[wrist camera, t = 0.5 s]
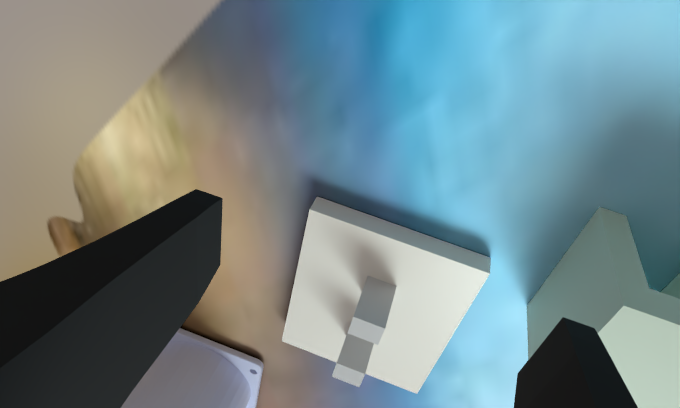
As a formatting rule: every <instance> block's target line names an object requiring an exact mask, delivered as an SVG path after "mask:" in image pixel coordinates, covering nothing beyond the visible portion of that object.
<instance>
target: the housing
mask: <svg viewBox="0 0 680 408" xmlns="http://www.w3.org/2000/svg"><path fill="white" fill-rule="evenodd" d="M562 317H564V318H567V319H570V320H573V321H576V322H579V323H581V324H584V325H587V326H590V327H593V328H595V330H596V331H597V333H598V335H599V337H600V338H601V340H602V342H603V344H604V346H605V348H606V349H607V351H608V353H609V355H610V357H611V359H612V360H613V362H614V364H615V366H616V368H617V370H618V372H619V374H620V375H621V377H622V379H623V381H624V383H625V385H626V386H627V388H628V390H629V392H630V394H631V396H632V397H633V399H634V401H635V403H636V405H637V407H638V408H680V273H679V274H678V275H677V276H676V277H675V278H674V279H673V280H672V281H671V282H670V283H669V284H668V285H667V286H666V287H665V288H664V289H663V290H662V291H661V292H659V291H656V290H653V289H650V288H649V286H648V283H647V280H646V276H645V273H644V270H643V267H642V264H641V261H640V258H639V254H638V251H637V248H636V245H635V242H634V239H633V236H632V232H631V229H630V226H629V223H628V220H627V217H626V215H623V214H620V213H617V212H614V211H611V210H608V209H605V208H602V207H599V208H598V209H597V210H596V212H595V213H594V215H593V216H592V217H591V219H590V220H589V221H588V223H587V224H586V226H585V227H584V228H583V230H582V231H581V232H580V234H579V235H578V237H577V238H576V239H575V241H574V242H573V243H572V245H571V246H570V247H569V249H568V250H567V252H566V253H565V254H564V256H563V257H562V258H561V260H560V261H559V263H558V264H557V265H556V267H555V268H554V269H553V271H552V272H551V274H550V275H549V276H548V278H547V279H546V280H545V282H544V283H543V284H542V286H541V287H540V289H539V290H538V291H537V293H536V294H535V295H534V297H533V298H532V300H531V301H530V302H529V304H528V305H527V330H528V360H529V359H530V358H531V356H532V355H533V354H534V353H535V351H536V350H537V349H538V348H539V346H540V345H541V344H542V343H543V341H544V340H545V339H546V338H547V336H548V335H549V334H550V333H551V331H552V330H553V329H554V328H555V326H556V325H557V324H558V322H559V321H560V320H561V319H562Z"/></svg>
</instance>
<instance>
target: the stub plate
mask: <svg viewBox="0 0 680 408" xmlns="http://www.w3.org/2000/svg"><path fill="white" fill-rule="evenodd" d="M490 262H491V258H490V257H487V256H484V255H482V254H479V253H476V252H473V251H470V250H467V249H465V248H462V247H459V246H456V245H453V244H450V243H448V242H445V241H442V240H439V239H436V238H434V237H431V236H428V235H425V234H422V233H419V232H417V231H414V230H411V229H408V228H405V227H402V226H400V225H397V224H394V223H391V222H388V221H385V220H383V219H380V218H377V217H374V216H371V215H368V214H366V213H363V212H360V211H357V210H354V209H351V208H349V207H346V206H343V205H340V204H337V203H334V202H332V201H329V200H326V199H323V198H320V197H316V199H315V201H314V202H313V204H312V206H311V208H310V209H309V214H308V219H307V224H306V229H305V233H304V238H303V243H302V248H301V252H300V257H299V262H298V267H297V271H296V276H295V281H294V286H293V290H292V295H291V300H290V305H289V309H288V314H287V319H286V324H285V329H284V333H283V338H282V341H283V342H286V343H288V344H291V345H293V346H296V347H298V348H301V349H303V350H306V351H309V352H311V353H314V354H316V355H319V356H321V357H324V358H327V359H329V360H332V361H334V362H337V363H336V366H335V369H334V372H333V375H332V377H335V378H337V379H340V380H342V381H345V382H347V383H350V384H352V385H355V386H357V387H360V385H361V382H362V380H363V378H364V375H365V374H368V375H370V376H373V377H375V378H378V379H380V380H383V381H385V382H388V383H391V384H393V385H396V386H398V387H401V388H403V389H406V390H409V391H411V392H414V393H416V394H417V393H418V391H419V390H420V388H421V386H422V385H423V383H424V381H425V380H426V378H427V376H428V375H429V373H430V372H431V370H432V368H433V367H434V365H435V363H436V362H437V360H438V358H439V357H440V355H441V353H442V352H443V350H444V348H445V347H446V345H447V344H448V342H449V340H450V339H451V337H452V335H453V334H454V332H455V330H456V329H457V327H458V325H459V324H460V322H461V320H462V319H463V317H464V315H465V314H466V312H467V311H468V309H469V307H470V306H471V304H472V302H473V301H474V299H475V297H476V296H477V294H478V292H479V291H480V289H481V287H482V286H483V284H484V282H485V281H486V279H487V278H488V276H489V274H490Z"/></svg>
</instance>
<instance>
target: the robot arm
mask: <svg viewBox="0 0 680 408" xmlns="http://www.w3.org/2000/svg"><path fill="white" fill-rule="evenodd" d="M221 226H222V198H220V197H217V196H215V195H212V194H209V193H206V192H203V191H200V190H197V189H196V190H194V191H192V192H190V193H188V194H186V195H184V196H182V197H180V198H178V199H176V200H174V201H172V202H170V203H168V204H166V205H165V206H163V207H161V208H159V209H157V210H155V211H153V212H151V213H149V214H148V215H146V216H144V217H142V218H140V219H138V220H136V221H134V222H132V223H130V224H128V225H126V226H124V227H122V228H120V229H118V230H116V231H114V232H112V233H110V234H108V235H106V236H104V237H102V238H100V239H98V240H96V241H94V242H92V243H90V244H88V245H86V246H84V247H81V248H79V249H77V250H75V251H73V252H70V253H68V254H66V255H64V256H62V257H59V258H57V259H55V260H53V261H51V262H49V263H46V264H44V265H42V266H39V267H37V268H35V269H32V270H30V271H27V272H25V273H22V274H20V275H17V276H15V277H12V278H9V279H7V280H4V281H1V282H0V408H256V406H257V400H258V394H259V389H260V383H261V377H262V372H263V363H262V361H260V360H259V359H257V358H254V357H252V356H249V355H247V354H244V353H242V352H239V351H237V350H234V349H232V348H229V347H227V346H224V345H222V344H219V343H216V342H214V341H211V340H209V339H206V338H204V337H201V336H199V335H196V334H194V333H191V332H189V331H186V330H184V329H181V328H180V327H181V326H182V324H183V323H184V322H185V320H186V319H187V318H188V316H189V315H190V314H191V312H192V311H193V309H194V308H195V307H196V305H197V304H198V302H199V301H200V299H201V297H202V296H203V294H204V292H205V291H206V289H207V287H208V285H209V284H210V282H211V280H212V278H213V276H214V275H215V273H216V271H217V269H218V267H219V266H220V255H221ZM514 408H638V407H637V405H636V403H635V401H634V399H633V397H632V396H631V394H630V392H629V390H628V388H627V386H626V385H625V383H624V381H623V379H622V377H621V375H620V374H619V372H618V370H617V368H616V366H615V364H614V362H613V360H612V359H611V357H610V355H609V353H608V351H607V349H606V348H605V346H604V344H603V342H602V340H601V338H600V337H599V335H598V333H597V331H596V330H595V328H593V327H590V326H587V325H584V324H581V323H579V322H576V321H573V320H570V319H567V318H564V317H562V319H561V320H560V321H559V322H558V324H557V325H556V326H555V328H554V329H553V330H552V331H551V333H550V334H549V335H548V336H547V338H546V339H545V340H544V341H543V343H542V344H541V345H540V346H539V348H538V349H537V350H536V351H535V353H534V354H533V355H532V356H531V358H530V359H529V360H528V361H527V363H526V364H525V365H524V366H523V368H522V369H521V370H520V371H519V373H518V377H517V385H516V394H515V402H514Z"/></svg>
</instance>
